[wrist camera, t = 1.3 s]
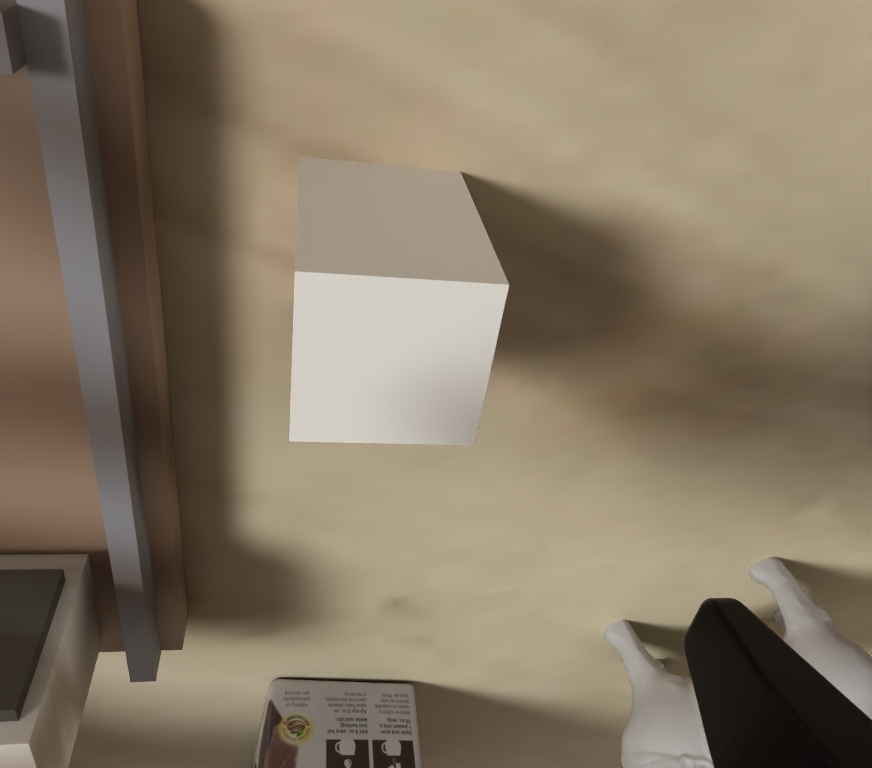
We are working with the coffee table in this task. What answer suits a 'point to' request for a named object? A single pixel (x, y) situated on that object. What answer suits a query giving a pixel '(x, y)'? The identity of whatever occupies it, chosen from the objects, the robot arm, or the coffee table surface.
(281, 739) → the coffee box
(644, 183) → the coffee table surface
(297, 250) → the off-white square prism
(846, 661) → the dog figurine
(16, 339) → the rail
